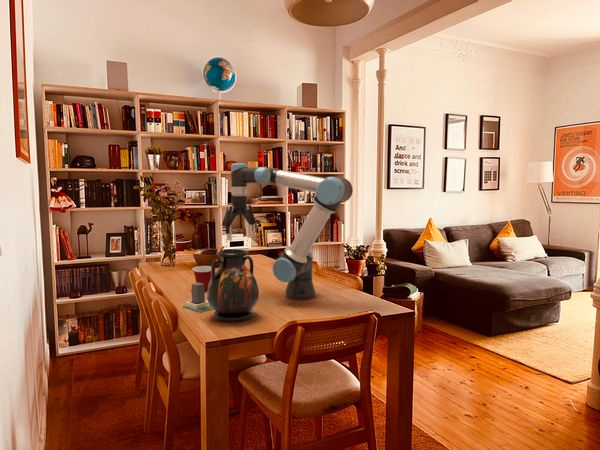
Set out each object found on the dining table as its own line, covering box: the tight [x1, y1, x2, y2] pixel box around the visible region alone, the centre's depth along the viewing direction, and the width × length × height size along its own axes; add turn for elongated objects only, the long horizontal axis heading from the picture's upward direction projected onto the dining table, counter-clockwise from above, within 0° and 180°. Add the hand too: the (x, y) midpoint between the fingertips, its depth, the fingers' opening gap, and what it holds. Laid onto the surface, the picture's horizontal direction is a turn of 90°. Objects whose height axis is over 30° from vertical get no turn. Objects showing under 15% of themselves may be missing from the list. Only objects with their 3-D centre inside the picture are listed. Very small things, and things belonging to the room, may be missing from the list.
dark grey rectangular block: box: [191, 282, 206, 304], centre depth 202 cm, size 5×4×10 cm
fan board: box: [182, 297, 214, 314], centre depth 201 cm, size 13×9×3 cm
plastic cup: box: [192, 265, 211, 292], centre depth 233 cm, size 11×11×12 cm
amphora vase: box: [206, 248, 260, 323], centre depth 186 cm, size 22×22×28 cm
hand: (239, 239), depth 218 cm, fingers open, 13 cm apart
